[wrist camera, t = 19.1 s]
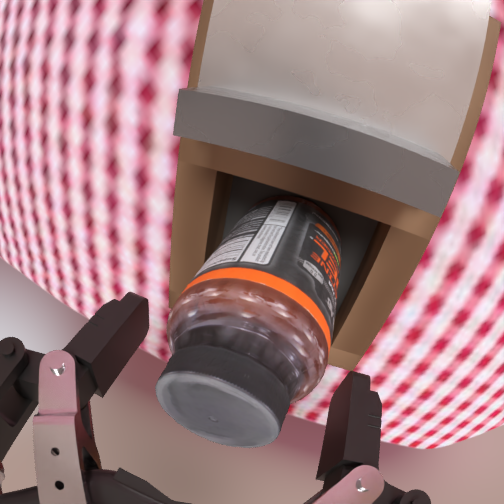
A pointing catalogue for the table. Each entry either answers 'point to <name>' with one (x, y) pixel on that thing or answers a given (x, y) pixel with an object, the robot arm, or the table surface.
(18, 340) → the robot arm
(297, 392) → the supplement bottle
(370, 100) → the shutter lid
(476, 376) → the table surface
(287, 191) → the socket board
